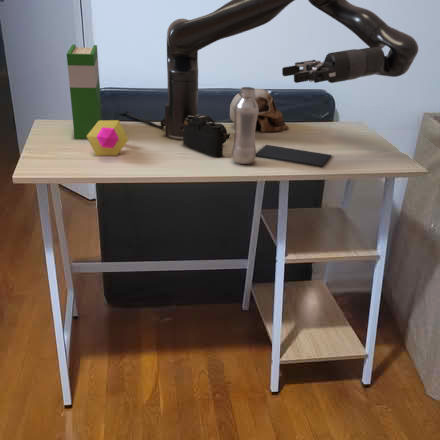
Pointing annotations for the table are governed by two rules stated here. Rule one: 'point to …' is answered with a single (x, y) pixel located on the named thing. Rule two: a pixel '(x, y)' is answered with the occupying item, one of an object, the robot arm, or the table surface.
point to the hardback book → (84, 89)
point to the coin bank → (263, 112)
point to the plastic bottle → (245, 127)
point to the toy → (107, 137)
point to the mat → (293, 155)
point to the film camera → (204, 135)
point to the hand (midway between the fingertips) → (288, 75)
